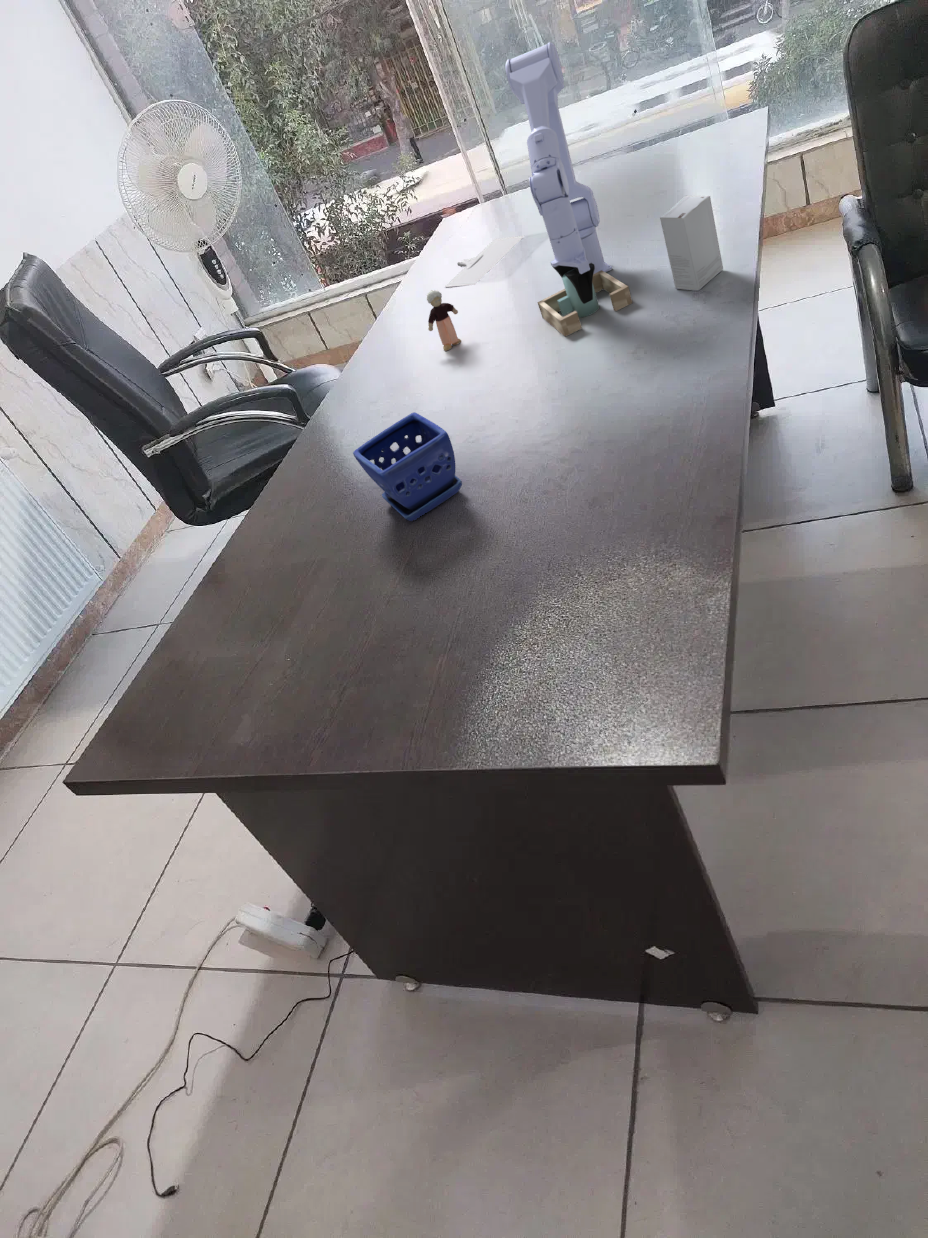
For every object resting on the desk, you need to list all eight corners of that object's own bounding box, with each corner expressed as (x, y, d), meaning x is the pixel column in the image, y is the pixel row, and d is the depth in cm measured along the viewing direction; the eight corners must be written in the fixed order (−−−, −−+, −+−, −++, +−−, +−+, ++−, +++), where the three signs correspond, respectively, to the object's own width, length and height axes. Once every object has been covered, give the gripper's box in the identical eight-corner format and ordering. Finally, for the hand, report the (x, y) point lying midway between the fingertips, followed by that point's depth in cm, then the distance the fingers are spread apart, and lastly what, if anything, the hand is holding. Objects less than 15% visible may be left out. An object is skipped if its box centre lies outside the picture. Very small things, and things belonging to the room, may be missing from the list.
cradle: (542, 317, 183) (537, 302, 181) (605, 285, 183) (601, 269, 181) (565, 336, 173) (560, 320, 171) (632, 302, 173) (628, 286, 170)
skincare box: (700, 268, 172) (685, 193, 163) (725, 269, 168) (711, 193, 159) (674, 290, 170) (657, 215, 161) (698, 292, 165) (683, 215, 156)
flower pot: (409, 533, 142) (378, 475, 134) (379, 505, 152) (349, 449, 145) (475, 490, 144) (448, 430, 136) (441, 465, 154) (414, 408, 147)
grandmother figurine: (447, 354, 188) (424, 299, 180) (436, 352, 191) (413, 299, 183) (471, 335, 191) (449, 280, 183) (460, 333, 193) (438, 280, 186)
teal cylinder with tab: (559, 317, 180) (548, 281, 175) (592, 300, 180) (582, 264, 175) (569, 325, 176) (557, 288, 171) (603, 308, 176) (592, 270, 171)
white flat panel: (483, 242, 233) (482, 238, 232) (557, 234, 219) (555, 229, 218) (433, 290, 221) (431, 286, 220) (507, 284, 207) (505, 279, 206)
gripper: (532, 233, 174) (552, 296, 182) (557, 249, 162) (577, 316, 171) (563, 217, 174) (582, 281, 182) (591, 232, 162) (609, 299, 170)
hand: (582, 297), depth 176 cm, fingers closed on teal cylinder with tab, 5 cm apart
